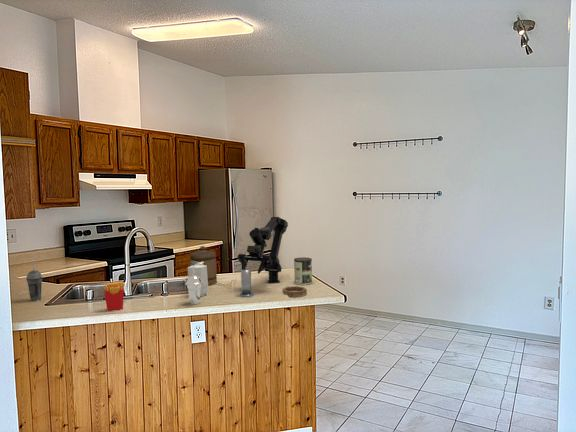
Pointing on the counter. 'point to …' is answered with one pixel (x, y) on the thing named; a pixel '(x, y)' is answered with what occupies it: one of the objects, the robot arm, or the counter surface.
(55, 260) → the counter surface
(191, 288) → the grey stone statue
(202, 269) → the skincare box
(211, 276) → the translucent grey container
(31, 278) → the beverage cup
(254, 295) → the stand
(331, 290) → the counter surface
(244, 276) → the sleeve
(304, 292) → the brown shallow round dish
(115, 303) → the french fries
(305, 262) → the coffee can
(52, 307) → the counter surface
